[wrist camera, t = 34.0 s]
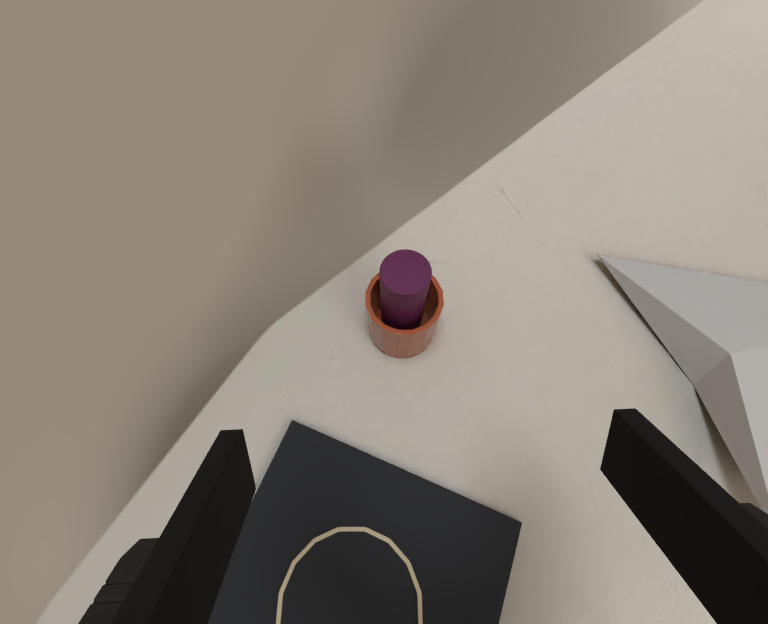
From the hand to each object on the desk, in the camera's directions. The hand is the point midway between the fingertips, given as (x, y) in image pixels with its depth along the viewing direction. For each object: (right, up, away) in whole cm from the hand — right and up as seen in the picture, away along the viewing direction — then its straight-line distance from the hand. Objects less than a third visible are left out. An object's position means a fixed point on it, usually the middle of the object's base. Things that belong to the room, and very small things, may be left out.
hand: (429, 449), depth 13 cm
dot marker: (0, +4, +22) cm, 22 cm away
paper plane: (+31, +4, +22) cm, 38 cm away
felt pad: (-4, -17, +13) cm, 22 cm away
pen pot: (0, +3, +22) cm, 22 cm away
